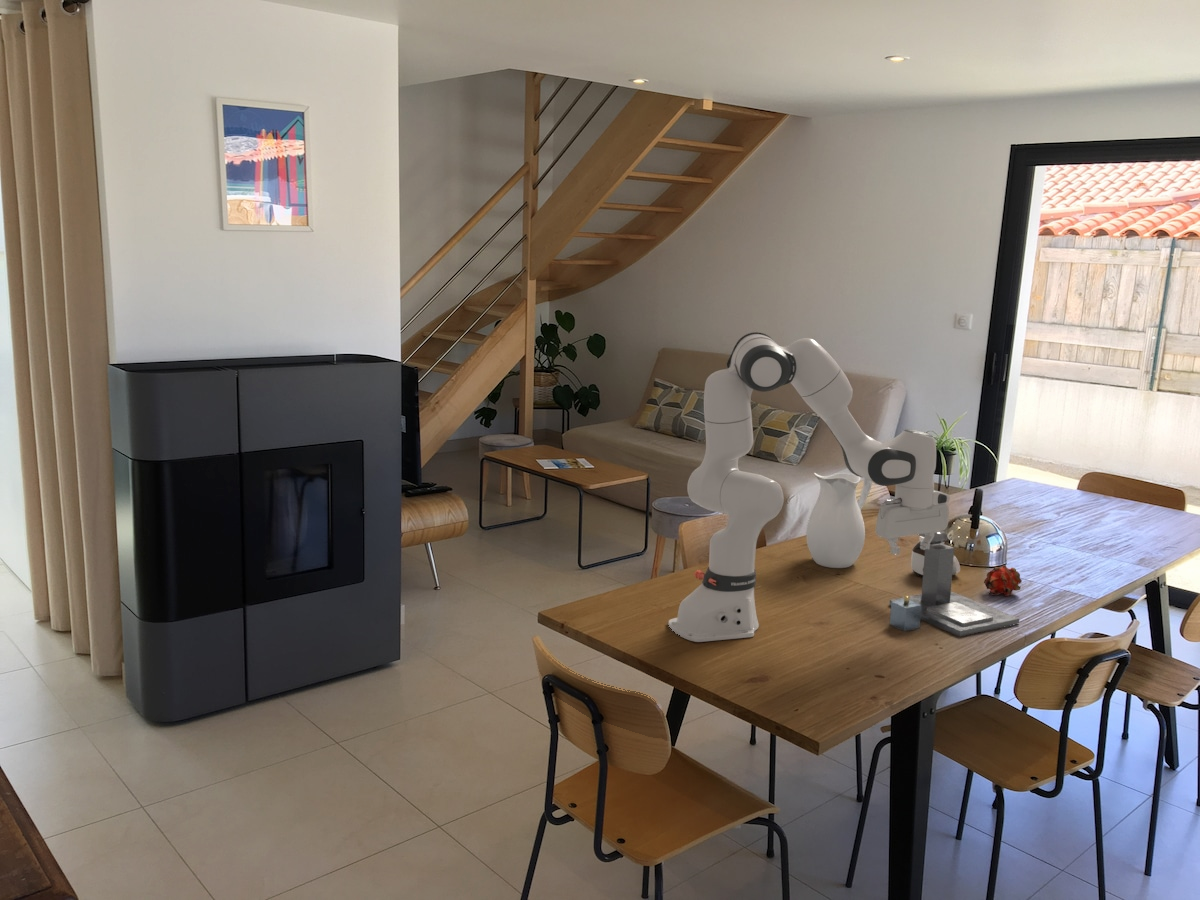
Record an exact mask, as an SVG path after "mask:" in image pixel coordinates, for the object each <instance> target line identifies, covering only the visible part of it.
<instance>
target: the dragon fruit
mask: <svg viewBox="0 0 1200 900" xmlns="http://www.w3.org/2000/svg"><path fill="white" fill-rule="evenodd" d="M983 584H984V585H985V587H986V589H987V590H989V592H988V595H994V596H998V595H1000V594H1004V596H1005V597H1009V596H1011V595H1012V593H1013V591H1020V590H1021V585H1019V584H1022V579H1021V574H1020V573H1019V571H1017V568H1015V567H1011V568H1008V567H1007V566H1006V565H1005V564H1003V565H1002V567H998V566H995V567H993V569H991V570H990V571H988V572H987V573H986V578H985V579H984V582H983Z"/></svg>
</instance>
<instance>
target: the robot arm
mask: <svg viewBox="0 0 1200 900" xmlns="http://www.w3.org/2000/svg"><path fill="white" fill-rule="evenodd" d="M726 366H727V368H725V369H724V368H723V369H720V370H716V371H714V372H713V373H711V374H709V376H708V377H707V378H706V380H705V384H704V391H703V392H704V393H703V417H704V430H705V452H704V456H703V460H702V462H701V463H700V464H699V466H698V467H697V468H695V469H694V470H693V471H692V472H691V474H690V476H689V478H688V481H687V487H686V489H687V495H688V498H689V499H690V500H691V502H692V503H694V504H696V505H697V506H698V507H699V506H700V507H701V508H703V509H706V510H708V511H711V512H715V513H720V514H724V515H727V518H728V519H727V523H726V527H723V528H721V529H719V530H717V531H716V532H715V533H714V534H713V535H712V536H711V538H710V540H709V558H708V560H709V561H708V567H707V569H706V571H705V572H704V571H702V570H700V569H697V570H696V571H695V572H694V577H695V578H696V579H698V580H700V581H701V580H702V581H701V584H700V585H698V586H697V587H696V588H695V589H694V590H692V592H691V593H690V594H689V595H687V596H686V597H684V599H682V600H681V601H680V604H679V607H678V611H677V617H673V618H671V619H668V622H667V623H668V624H667V625H669V626H668V628H669V627H670V628H671V629H672V630H671V629H670V628H669V629H670V630H671V631H672V632H673V631H674V632H675V633H674V632H673V633H674V634H676V635H677V634H678V635H677V636H679V635H680V636H679V637H680V638H682V639H683V638H684V639H685V640H688V641H691V642H695V643H703V642H713V641H722V640H723V641H725V640H736V639H743V638H744V639H746V638H752V637H754V636H755V632H756V631H757V630H758V629H759V627H760V623H759V621H758V617H757V616H758V615H757V610H756V602H755V588H756V585H757V579H756V578H757V577H756V576H757V571H756V569H755V564H756V549H757V543H758V542H757V541H758V538H759V535H760V533H761V531H762V529H763V528H764V526H765V525H766V524H767V523H768V522H771V521H772V520H773V519H775V517H777V516H778V515H779V513H780V512H781V511H782V508H783V505H784V501H785V500H784V499H785V498H784V497H785V495H784V491H783V488H782V486H781V485H780V483H779V482H777V481H776V480H774V479H771V478H769V477H767V476H764V475H763V474H759V473H753V472H749V471H744V470H743V471H742V470H740V469H739V465H738V464H739V458H740V459H741V458H742V457H744V456H746V455H747V454H748V453H749V452H750V451H751V450H752V447H753V445H754V431H753V415H752V406H751V398H752V394H753V391H757V392H760V393H765V392H766V393H767V392H771V391H773V390H776V389H779V388H780V387H782V386H785V385H789V384H791V385H792V386H793V388H794V389H795V391H796V392H797V393H798V394H799V396H800V398H802V400H803V401H804V402H805V404H807V406H808V407H809V408H810V409H811V410H812V411H813V412H814V413H815V414H816V415H817V416H818V417H820V419H821V420H823V422H824V423H825V425H826V427H827V428H828V429H829V430H830V432H831V433H832V435H833V437H834V439H836V441H837V443H838V444H839V446H840V447H841V451H842V455H843V461H844V463H845V465H846V468H847V469H848V471H849V472H850V474H854V475H856V476H859V477H860V478H862V479H864V478H865V479H867V480H869V481H871V482H872V483H873V484H875V485H878V486H881V487H882V486H884V487H888V486H895V490H894V498H892V499H886V500H884V501H883V502H882V504H881V505H879V510H878V514H877V518H876V523H875V529H874V531H875V534H876V535H877V536H878V537H879V538H881V539H885V540H887V542H888V544H889V546H890V554H891V555H894V556H896V555H900V554H901V547H900V546H898V544H897V542H898V541H899V538H903V537H909V536H918V535H917V534H925V537H924V539H923V541H922V542H920V549H923V550H928V549H930V543H931V541H932V539H933V537H934V534H935V532H941V531H944V532H945V530H946V529H947V527H948V525H949V520H950V519H949V518H950V516H949V514H950V508H949V504H948V503H949V502H950V494H948V493H945V492H942V491H939V490H936V489H935V481H934V480H935V479H934V475H935V471H936V468H937V445H936V444H937V443H936V439H935V438H934V436H933V435H932V434H930V433H928V432H925V431H921V430H918V429H910V428H909V429H907V428H906V429H903V430H902V431H901V433H899V434H898V435H896V436H895V437H893V438H892V439H890V440H887V441H885V442H881V441H879V440H877V439H875V438H874V437H872V436H869V435H867V434H866V433H865V432H864V431H863V430H862V429H861V426H860V425H859V424H858V422H857V421H856V419H855V418H854V416H853V415H852V413H851V412H850V410H849V407H848V406H849V405H850V403H851V401H852V399H853V393H854V392H853V391H854V389H853V387H852V385H851V383H850V381H849V379H848V377H847V375H846V373H845V372H844V371H843V369H842V367H841V366H840V365H839V364H838V363H837V361H836V360H835V358H833V357H832V356H831V354H829V352H828V351H827V350H826V349H825V348H824V347H823V346H822V345H820V343H818V342H817V341H816V340H814V339H813V338H810V337H802V338H799V339H796V340H794V341H793V342H792V343H790V344H788V345H785V346H780V345H779V344H778V342H776V341H775V340H774V339H773V338H772V337H771V336H770V335H768V334H766V333H763V332H758V331H756V332H754V331H753V332H749V333H746V334H745V335H743V336H741V337H740V338H739V339H738V340H737V342H736V343H735V345H734V347H733V349H732V352H731V354H730V356H729V359H728V360H727V362H726Z"/></svg>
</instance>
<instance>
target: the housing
mask: <svg viewBox="0 0 1200 900" xmlns="http://www.w3.org/2000/svg"><path fill="white" fill-rule="evenodd" d="M909 596H910V595H904V596H903V597H904V599H903V600H897V601H892V602H891V606H890V617H889V625H891V626H892V627H894V628H897V629H898V630H901V631H902V632H908V631H912V630H917V629H920V628H921V619H920V618H921V605H920V604H918V603H915V602H913V601H911V600H909Z"/></svg>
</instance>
